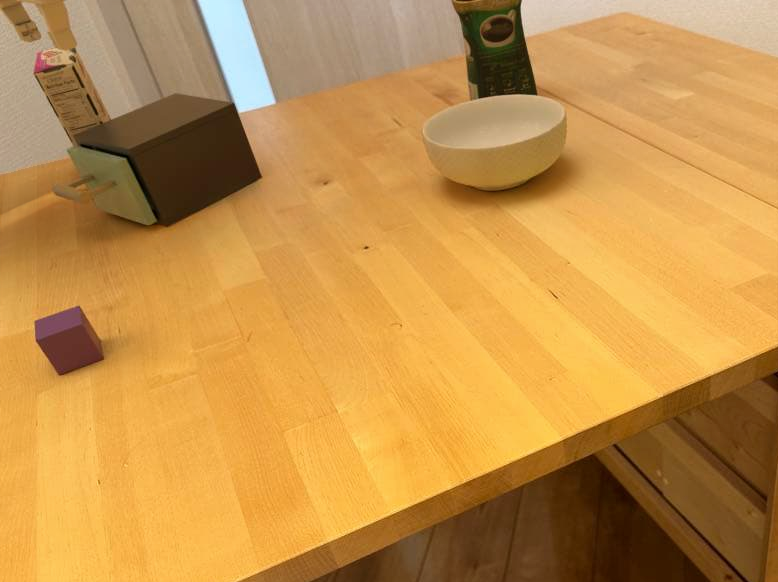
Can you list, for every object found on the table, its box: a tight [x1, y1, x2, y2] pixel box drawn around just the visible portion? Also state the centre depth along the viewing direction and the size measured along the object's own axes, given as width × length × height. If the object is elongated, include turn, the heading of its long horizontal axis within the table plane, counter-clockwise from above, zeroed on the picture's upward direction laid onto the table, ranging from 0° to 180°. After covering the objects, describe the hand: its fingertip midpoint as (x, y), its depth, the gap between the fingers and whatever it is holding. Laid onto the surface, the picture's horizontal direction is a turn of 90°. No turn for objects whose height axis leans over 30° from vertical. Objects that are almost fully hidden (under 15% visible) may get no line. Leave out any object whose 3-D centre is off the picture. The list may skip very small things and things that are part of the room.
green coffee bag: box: [451, 0, 538, 101], centre depth 105 cm, size 10×8×19 cm
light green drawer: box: [52, 145, 157, 226], centre depth 94 cm, size 18×12×8 cm, turn 145°
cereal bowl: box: [421, 95, 568, 192], centre depth 89 cm, size 17×17×7 cm
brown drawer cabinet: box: [73, 93, 263, 228], centre depth 97 cm, size 15×13×10 cm
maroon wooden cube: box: [33, 305, 105, 376], centre depth 71 cm, size 4×4×4 cm
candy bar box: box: [32, 47, 112, 147], centre depth 102 cm, size 11×5×16 cm, turn 25°
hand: (49, 44), depth 81 cm, fingers open, 8 cm apart
